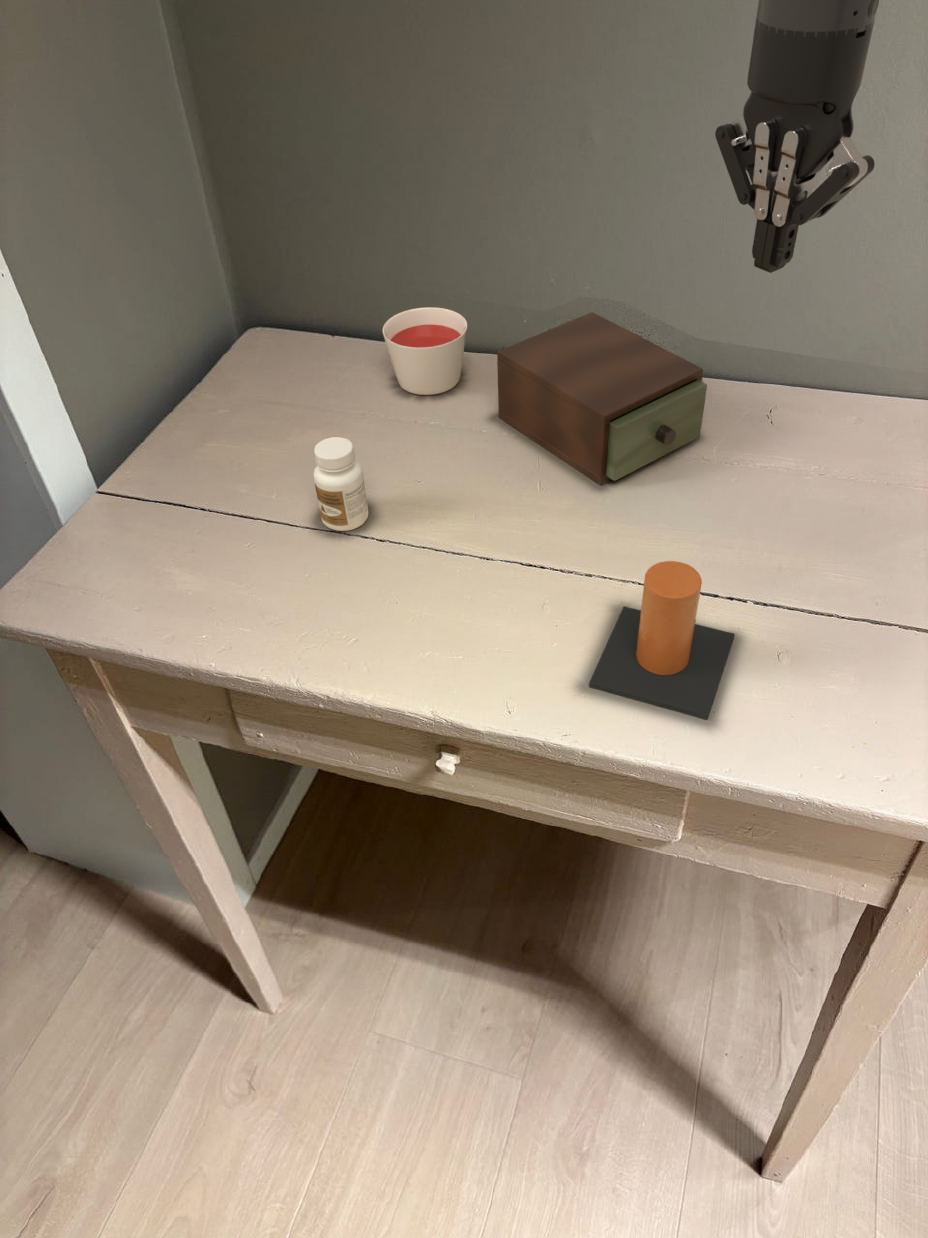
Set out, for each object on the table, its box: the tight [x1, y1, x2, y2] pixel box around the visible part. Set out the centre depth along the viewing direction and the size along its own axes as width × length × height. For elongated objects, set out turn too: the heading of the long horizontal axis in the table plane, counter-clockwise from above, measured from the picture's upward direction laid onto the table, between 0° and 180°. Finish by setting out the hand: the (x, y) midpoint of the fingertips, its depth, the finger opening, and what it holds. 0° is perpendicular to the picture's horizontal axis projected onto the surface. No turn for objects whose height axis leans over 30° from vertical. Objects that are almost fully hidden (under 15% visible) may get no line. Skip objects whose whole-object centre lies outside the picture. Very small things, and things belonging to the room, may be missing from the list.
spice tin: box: [636, 560, 703, 675], centre depth 71 cm, size 4×4×8 cm
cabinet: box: [496, 311, 704, 486], centre depth 95 cm, size 16×13×8 cm
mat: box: [588, 605, 736, 720], centre depth 74 cm, size 9×9×1 cm
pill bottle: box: [312, 436, 369, 532], centre depth 86 cm, size 4×4×8 cm
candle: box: [382, 306, 468, 396], centre depth 104 cm, size 9×9×6 cm
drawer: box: [606, 380, 708, 482], centre depth 94 cm, size 16×11×6 cm
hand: (770, 267), depth 75 cm, fingers closed
